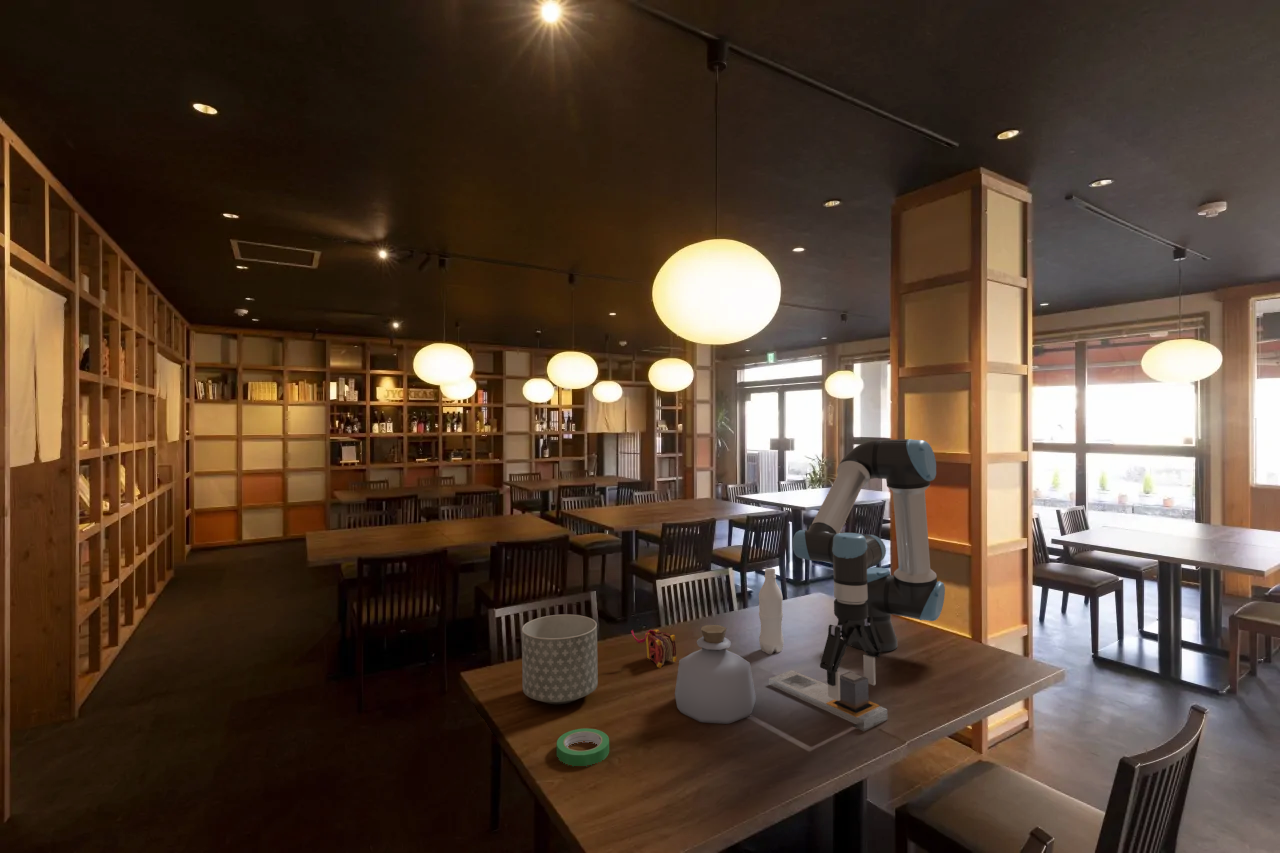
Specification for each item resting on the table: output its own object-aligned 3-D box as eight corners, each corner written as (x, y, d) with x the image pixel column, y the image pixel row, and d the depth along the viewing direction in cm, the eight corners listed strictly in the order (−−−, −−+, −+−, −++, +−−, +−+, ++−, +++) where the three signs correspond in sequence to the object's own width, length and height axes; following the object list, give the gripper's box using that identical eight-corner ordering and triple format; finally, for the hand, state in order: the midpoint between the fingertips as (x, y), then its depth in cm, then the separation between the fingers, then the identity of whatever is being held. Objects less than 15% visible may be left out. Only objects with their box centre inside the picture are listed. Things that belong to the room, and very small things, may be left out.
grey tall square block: (850, 704, 140) (849, 670, 140) (868, 712, 136) (868, 677, 136) (837, 710, 137) (836, 675, 138) (855, 718, 133) (855, 682, 133)
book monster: (679, 663, 169) (642, 673, 164) (664, 653, 177) (628, 663, 172) (676, 626, 169) (639, 636, 164) (661, 618, 177) (626, 627, 172)
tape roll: (572, 735, 130) (572, 723, 130) (617, 745, 126) (617, 732, 126) (546, 761, 120) (546, 748, 120) (594, 773, 116) (594, 759, 116)
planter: (567, 675, 162) (566, 610, 162) (613, 696, 149) (612, 625, 149) (508, 697, 149) (507, 626, 149) (552, 723, 135) (551, 644, 136)
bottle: (660, 696, 148) (659, 622, 148) (727, 683, 155) (726, 612, 156) (696, 733, 130) (695, 648, 130) (771, 716, 137) (770, 636, 137)
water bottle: (784, 656, 173) (782, 572, 173) (759, 655, 175) (758, 571, 175) (783, 648, 180) (781, 567, 181) (759, 646, 182) (758, 566, 182)
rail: (792, 679, 157) (792, 669, 157) (887, 719, 134) (887, 708, 134) (769, 687, 152) (769, 677, 152) (864, 731, 129) (863, 719, 129)
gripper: (867, 588, 147) (869, 672, 147) (802, 605, 133) (804, 699, 133) (895, 594, 141) (897, 682, 141) (830, 613, 127) (832, 711, 127)
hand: (852, 690), depth 137 cm, fingers open, 13 cm apart
